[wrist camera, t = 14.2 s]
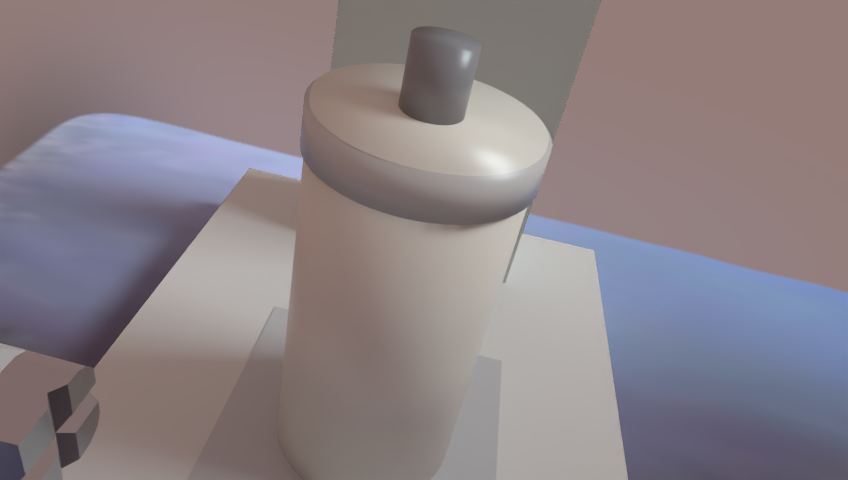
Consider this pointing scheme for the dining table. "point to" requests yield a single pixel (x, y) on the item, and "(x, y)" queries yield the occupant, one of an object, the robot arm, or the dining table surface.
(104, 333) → the dining table surface
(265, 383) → the press
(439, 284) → the white lidded bottle
